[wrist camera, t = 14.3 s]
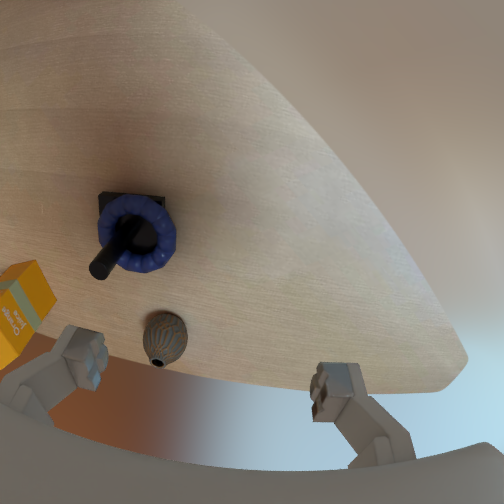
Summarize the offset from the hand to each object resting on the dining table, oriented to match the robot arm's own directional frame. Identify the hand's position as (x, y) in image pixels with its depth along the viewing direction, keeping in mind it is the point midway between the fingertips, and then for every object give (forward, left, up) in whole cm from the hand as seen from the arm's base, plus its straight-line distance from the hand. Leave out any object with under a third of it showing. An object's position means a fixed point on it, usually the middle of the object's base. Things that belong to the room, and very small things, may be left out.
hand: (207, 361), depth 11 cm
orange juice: (+24, -36, -29) cm, 52 cm away
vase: (+27, -9, -29) cm, 41 cm away
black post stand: (+10, -14, -29) cm, 34 cm away
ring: (+10, -13, -26) cm, 31 cm away
